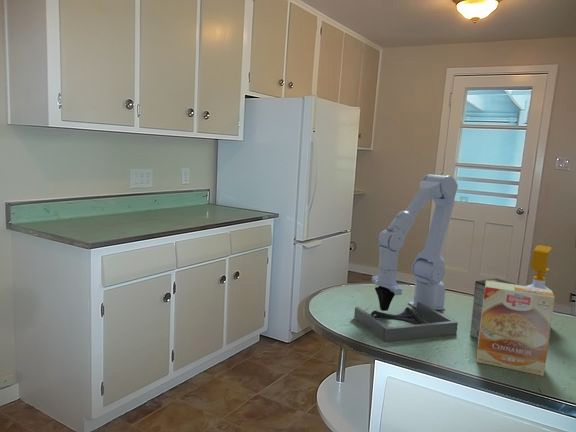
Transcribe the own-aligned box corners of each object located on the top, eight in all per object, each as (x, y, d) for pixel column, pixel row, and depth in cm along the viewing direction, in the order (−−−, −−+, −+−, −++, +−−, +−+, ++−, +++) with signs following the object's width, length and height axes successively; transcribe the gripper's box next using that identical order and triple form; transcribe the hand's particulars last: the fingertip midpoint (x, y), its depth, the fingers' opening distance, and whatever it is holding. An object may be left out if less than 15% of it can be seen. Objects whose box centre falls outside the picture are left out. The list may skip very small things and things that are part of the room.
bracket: (365, 311, 148) (365, 303, 147) (409, 311, 149) (410, 303, 149) (377, 328, 133) (378, 319, 133) (426, 329, 135) (427, 320, 134)
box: (419, 312, 147) (420, 302, 147) (456, 334, 131) (457, 322, 130) (354, 318, 139) (355, 307, 139) (385, 341, 123) (386, 329, 122)
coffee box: (490, 330, 135) (497, 277, 132) (510, 338, 129) (516, 283, 127) (468, 334, 130) (475, 280, 128) (487, 343, 125) (494, 286, 123)
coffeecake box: (476, 362, 113) (484, 286, 110) (476, 351, 119) (485, 279, 117) (544, 377, 107) (555, 296, 104) (541, 364, 113) (552, 288, 111)
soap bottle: (553, 324, 142) (564, 247, 139) (545, 332, 136) (556, 251, 132) (522, 316, 148) (531, 242, 145) (513, 323, 142) (523, 245, 138)
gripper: (365, 263, 148) (361, 303, 150) (389, 275, 135) (385, 319, 137) (383, 262, 151) (380, 302, 153) (409, 274, 137) (405, 317, 139)
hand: (384, 310), depth 145 cm, fingers closed
